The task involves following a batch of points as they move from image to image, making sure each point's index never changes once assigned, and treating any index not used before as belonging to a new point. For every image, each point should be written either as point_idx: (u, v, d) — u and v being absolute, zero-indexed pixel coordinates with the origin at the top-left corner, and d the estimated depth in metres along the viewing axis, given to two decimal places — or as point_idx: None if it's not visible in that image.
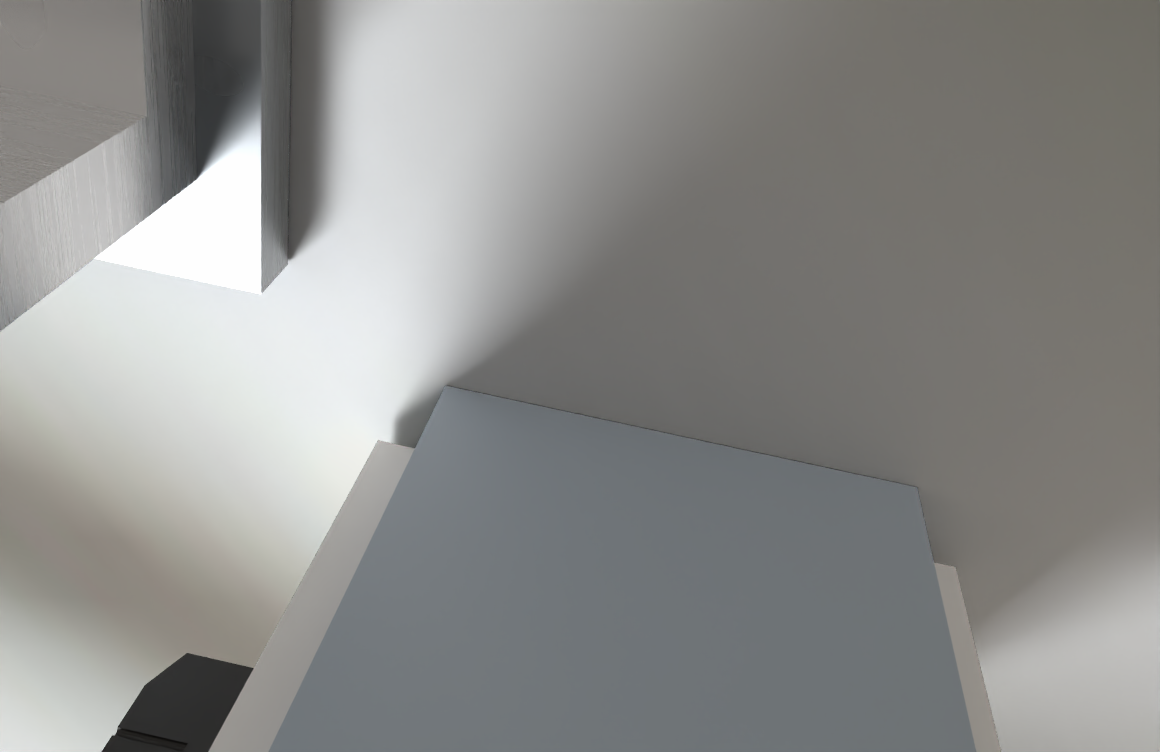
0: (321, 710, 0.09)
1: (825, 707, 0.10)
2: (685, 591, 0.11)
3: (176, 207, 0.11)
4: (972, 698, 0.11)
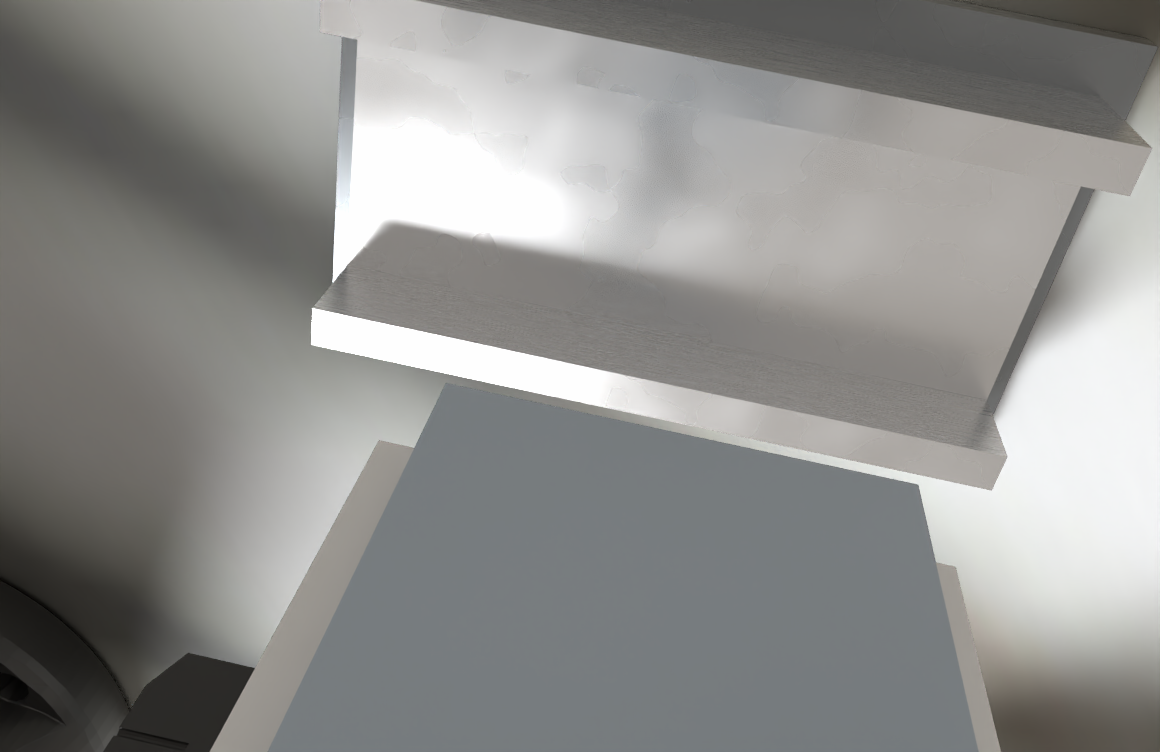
0: (322, 707, 0.09)
1: (827, 703, 0.10)
2: (686, 588, 0.11)
3: None
4: (972, 698, 0.11)
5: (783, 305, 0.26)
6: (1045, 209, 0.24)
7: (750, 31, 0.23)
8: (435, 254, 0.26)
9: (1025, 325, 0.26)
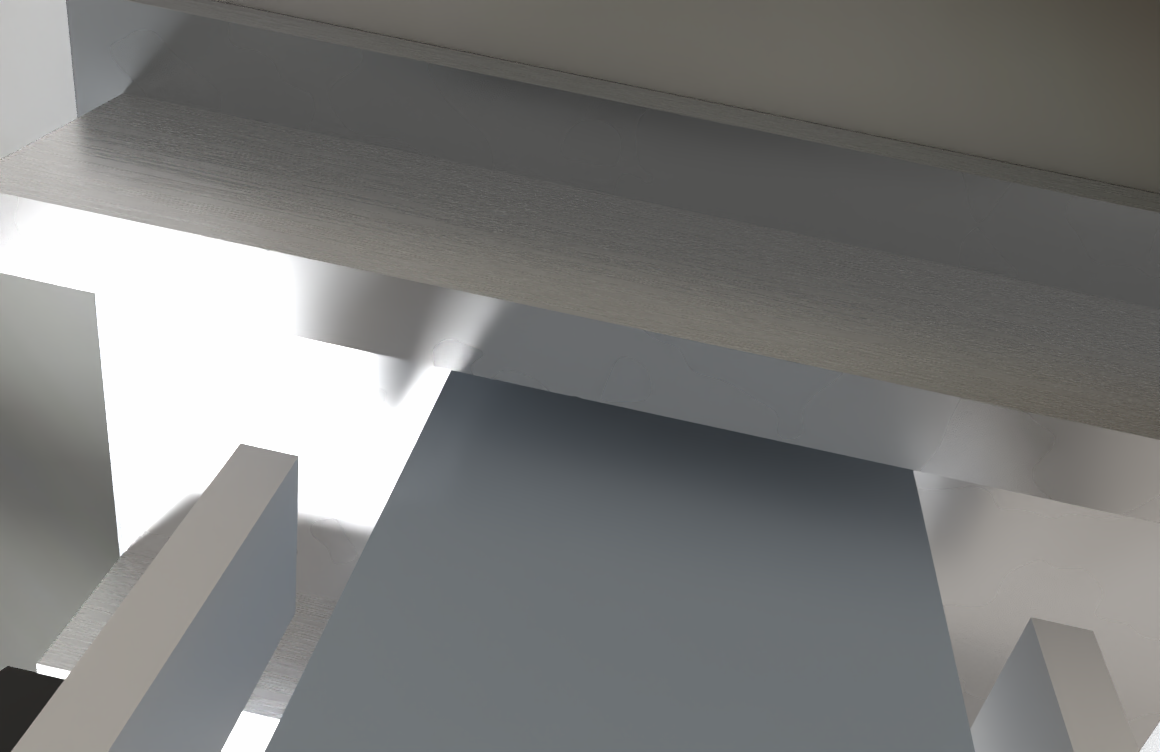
0: (367, 600, 0.10)
1: (816, 607, 0.11)
2: (690, 510, 0.12)
3: None
4: None
5: None
6: None
7: (751, 237, 0.13)
8: None
9: None
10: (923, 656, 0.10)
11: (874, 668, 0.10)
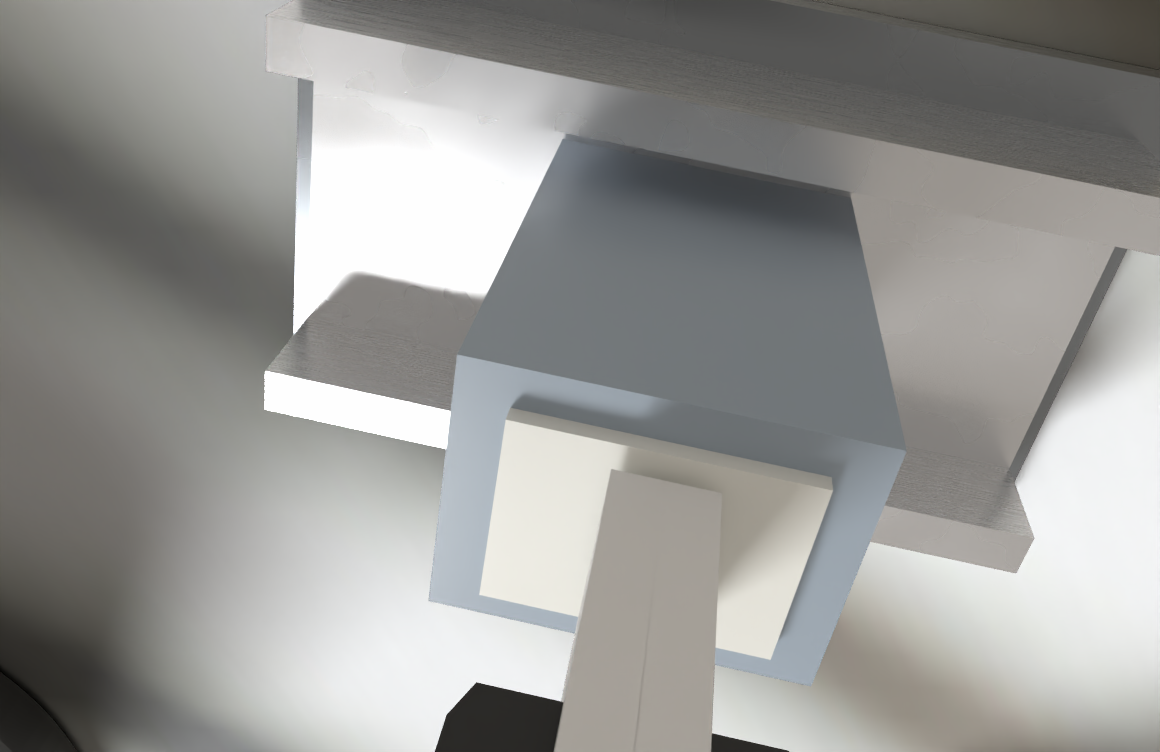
0: (529, 242, 0.17)
1: (790, 264, 0.18)
2: (712, 222, 0.19)
3: None
4: (701, 607, 0.12)
5: None
6: (1077, 265, 0.21)
7: (750, 68, 0.21)
8: (403, 307, 0.24)
9: (1051, 386, 0.24)
10: (852, 286, 0.18)
11: (822, 288, 0.17)
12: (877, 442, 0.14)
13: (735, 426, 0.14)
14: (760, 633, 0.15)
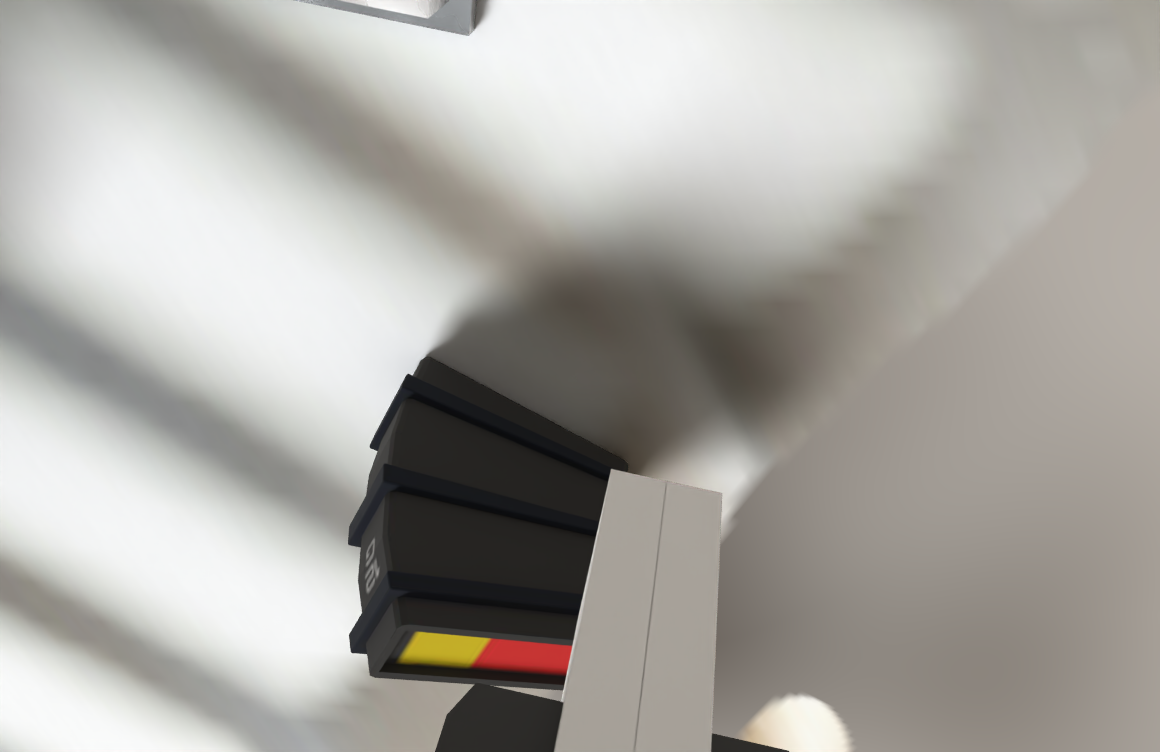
0: None
1: None
2: None
3: (445, 7, 0.38)
4: (702, 607, 0.12)
5: None
6: None
7: None
8: None
9: None
10: None
11: None
12: None
13: None
14: None
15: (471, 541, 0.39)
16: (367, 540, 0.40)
